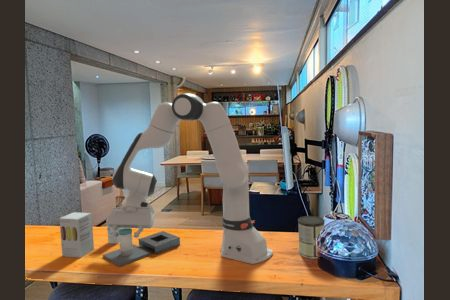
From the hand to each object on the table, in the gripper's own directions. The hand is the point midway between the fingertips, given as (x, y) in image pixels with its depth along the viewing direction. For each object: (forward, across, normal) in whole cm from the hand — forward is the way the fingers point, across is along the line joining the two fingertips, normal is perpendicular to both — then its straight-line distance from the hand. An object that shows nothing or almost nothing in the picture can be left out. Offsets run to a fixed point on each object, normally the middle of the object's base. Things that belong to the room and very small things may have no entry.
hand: (125, 236), depth 129 cm
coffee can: (-1, +76, +13) cm, 77 cm away
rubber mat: (+6, 0, +6) cm, 8 cm away
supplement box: (+5, -23, +7) cm, 25 cm away
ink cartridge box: (-5, -13, +18) cm, 23 cm away
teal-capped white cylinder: (+5, 0, +5) cm, 7 cm away
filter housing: (-2, +10, +14) cm, 17 cm away
